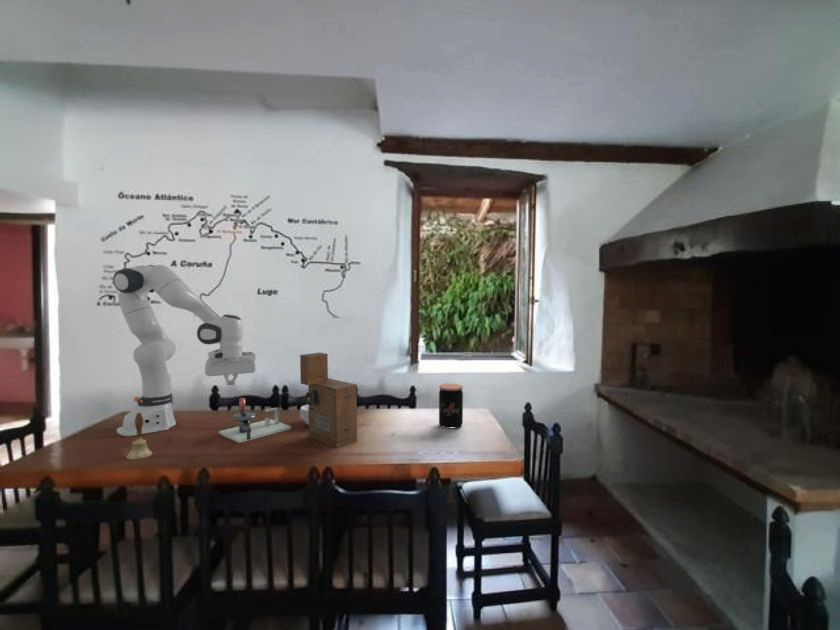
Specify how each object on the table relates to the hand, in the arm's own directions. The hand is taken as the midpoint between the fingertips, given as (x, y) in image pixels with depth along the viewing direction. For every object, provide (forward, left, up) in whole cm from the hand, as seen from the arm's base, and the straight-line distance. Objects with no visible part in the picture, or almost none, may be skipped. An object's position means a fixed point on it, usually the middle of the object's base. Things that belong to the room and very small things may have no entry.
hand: (230, 384), depth 195 cm
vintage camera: (+22, -40, -21) cm, 50 cm away
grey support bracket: (+15, -8, -19) cm, 26 cm away
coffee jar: (+70, -66, -21) cm, 98 cm away
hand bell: (-36, -2, -21) cm, 42 cm away
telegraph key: (+1, -10, -19) cm, 22 cm away
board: (+7, -8, -20) cm, 23 cm away
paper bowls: (+32, -18, -21) cm, 42 cm away
